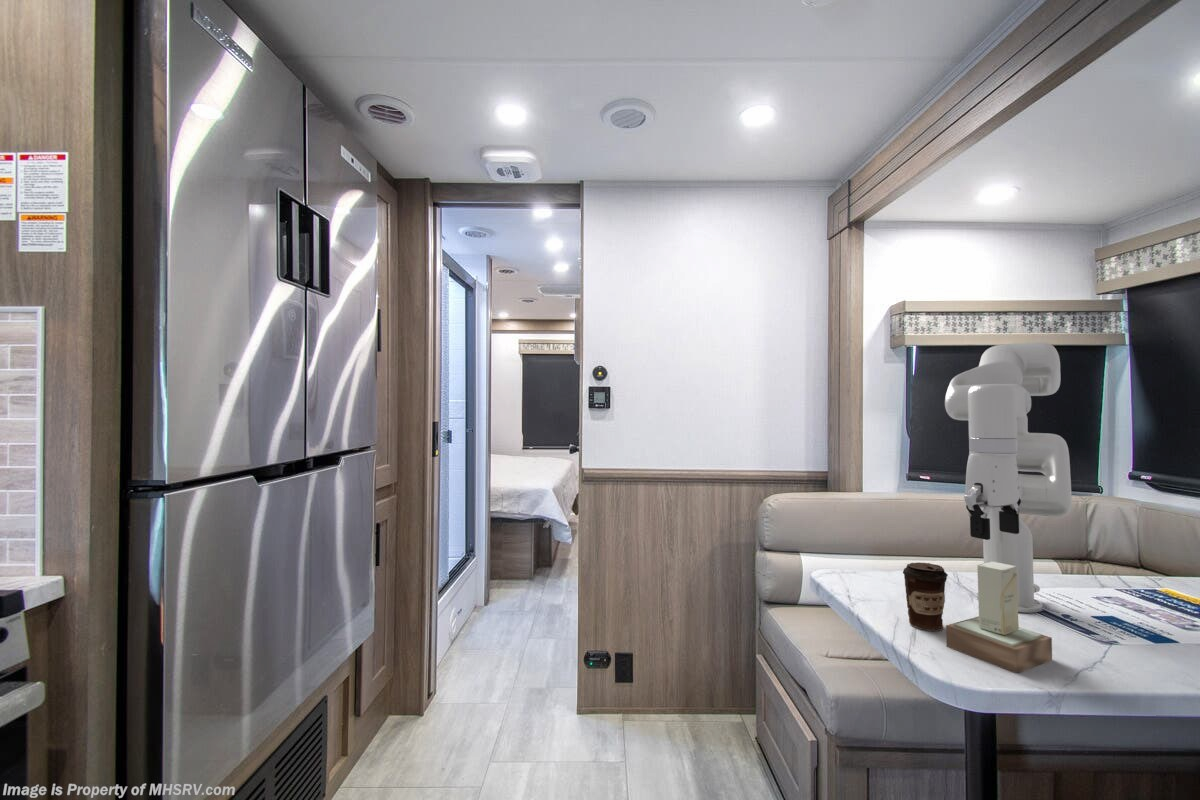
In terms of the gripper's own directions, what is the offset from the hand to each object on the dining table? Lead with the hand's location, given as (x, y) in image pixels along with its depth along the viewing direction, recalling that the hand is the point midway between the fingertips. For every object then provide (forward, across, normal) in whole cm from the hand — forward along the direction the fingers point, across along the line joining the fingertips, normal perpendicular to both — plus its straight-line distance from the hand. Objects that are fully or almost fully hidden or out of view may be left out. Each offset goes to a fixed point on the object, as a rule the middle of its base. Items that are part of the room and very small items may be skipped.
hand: (995, 535), depth 101 cm
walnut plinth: (+22, +1, 0) cm, 22 cm away
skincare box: (+18, 0, 0) cm, 18 cm away
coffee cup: (+23, 0, -14) cm, 27 cm away
